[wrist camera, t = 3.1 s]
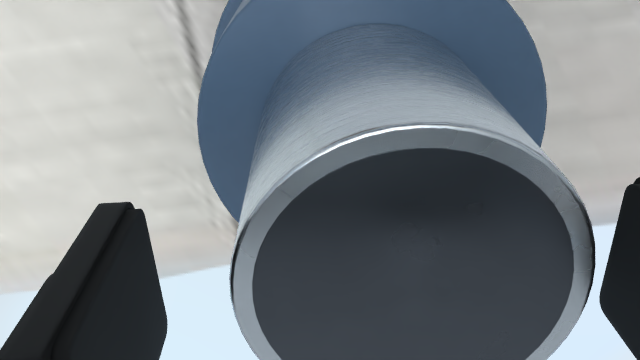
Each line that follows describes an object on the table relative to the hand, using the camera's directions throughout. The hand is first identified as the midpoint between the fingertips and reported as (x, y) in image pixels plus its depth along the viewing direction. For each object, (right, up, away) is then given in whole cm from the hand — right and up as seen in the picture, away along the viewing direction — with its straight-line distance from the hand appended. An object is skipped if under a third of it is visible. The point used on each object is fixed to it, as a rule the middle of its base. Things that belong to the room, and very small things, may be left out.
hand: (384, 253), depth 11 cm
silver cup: (0, +3, +5) cm, 6 cm away
